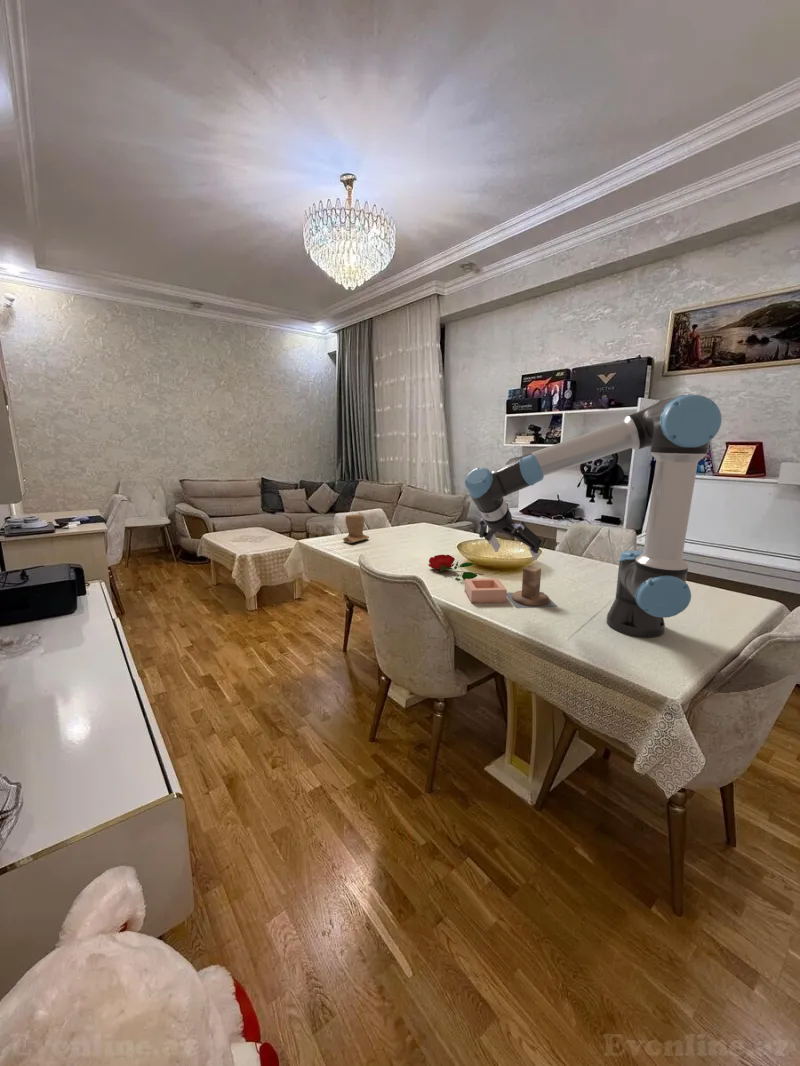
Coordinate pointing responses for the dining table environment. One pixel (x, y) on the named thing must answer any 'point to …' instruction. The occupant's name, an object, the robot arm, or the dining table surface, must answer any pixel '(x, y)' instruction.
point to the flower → (450, 565)
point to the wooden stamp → (355, 528)
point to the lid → (531, 589)
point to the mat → (517, 605)
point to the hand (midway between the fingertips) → (516, 552)
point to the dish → (485, 590)
